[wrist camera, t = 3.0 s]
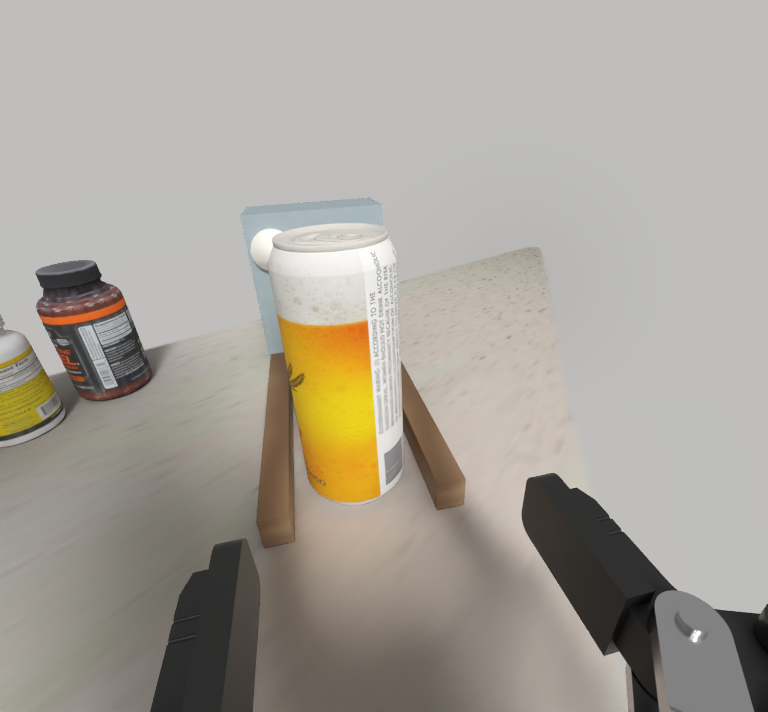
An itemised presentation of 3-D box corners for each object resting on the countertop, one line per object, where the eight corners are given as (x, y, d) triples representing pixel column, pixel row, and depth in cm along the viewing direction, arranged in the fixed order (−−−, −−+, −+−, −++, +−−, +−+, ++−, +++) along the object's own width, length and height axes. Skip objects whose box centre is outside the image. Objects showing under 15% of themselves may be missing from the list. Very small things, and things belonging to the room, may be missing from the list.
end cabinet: (271, 365, 38) (239, 216, 32) (273, 338, 44) (246, 207, 37) (389, 348, 40) (383, 204, 34) (377, 324, 46) (369, 197, 39)
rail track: (264, 548, 20) (256, 522, 20) (274, 372, 37) (270, 354, 36) (463, 504, 22) (465, 479, 21) (389, 355, 39) (388, 337, 38)
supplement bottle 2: (68, 392, 36) (5, 271, 30) (134, 364, 40) (89, 253, 35) (99, 411, 33) (35, 280, 27) (166, 378, 37) (122, 260, 32)
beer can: (341, 433, 28) (313, 220, 21) (418, 456, 26) (416, 223, 19) (289, 493, 24) (232, 243, 17) (378, 527, 21) (356, 252, 14)
